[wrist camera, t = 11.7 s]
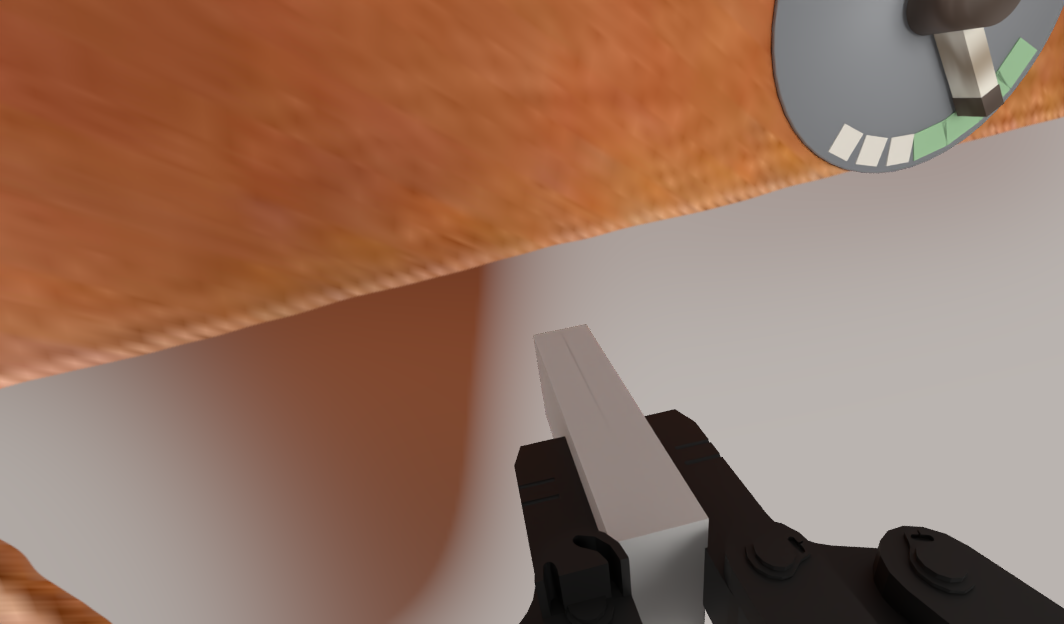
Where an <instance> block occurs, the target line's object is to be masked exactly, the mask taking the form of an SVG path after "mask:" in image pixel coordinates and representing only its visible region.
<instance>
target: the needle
mask: <svg viewBox="0 0 1064 624" xmlns="http://www.w3.org/2000/svg"><path fill="white" fill-rule="evenodd" d="M1020 1H1021V0H908V3H907V10H906V17H907V22H908V25H909V27H910V29H911V30H912V31H913V32H914V33H916V34H918V35H923V36H925V35H933V34H934V38H935V41H936V44H937V47H938V51H939V54H940V57H941V60H942V64H943V67H944V70H945V73H946V77H947V80H948V83H949V87H950V90H951V93H952V96H953V98H952V100H953V103H954V107H955V110H956V113H957V116H969V117H987V116H989V115H990V114H991V113H992V112H994V111H995V110H996V109H997V108H999V107H1000V106H1001V105H1003V104H1004V101H1003V97H1002V93H1001V89H1000V85H999V84H998V82H997V78H996V74H995V70H994V66H993V62H992V58H991V55H990V51H989V47H988V43H987V39H986V35H985V31H984V27H990V26H993V25H996V24H998V23H1000V22H1001V21H1003V20H1004V19H1005V18H1007V17H1008V16H1009V15H1010V14H1011V13H1012V12H1013V11H1014V9H1015V8H1016V7H1017V5H1018V4H1019V2H1020Z"/></svg>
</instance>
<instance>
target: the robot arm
mask: <svg viewBox="0 0 1064 624" xmlns="http://www.w3.org/2000/svg"><path fill="white" fill-rule="evenodd" d="M533 337H534V343H535V349H536V356H537V362H538V369H539V375H540V381H541V387H542V393H543V399H544V406H545V412H546V416H547V420H548V422H549V426H550V429H551V432H552V435H553V438H554V439H551V440H547V441H542V442H538V443H533V444H529V445H525V446H521V447H520V450H519V453H518V456H517V460H516V462H515V472H516V477H517V482H518V487H519V493H520V498H521V503H522V509H523V514H524V520H525V524H526V530H527V535H528V541H529V546H530V551H531V557H532V562H533V567H534V573H535V592H534V598H533V601H532V603H531V605H530V608H529V610H528V612H527V614H526V615H525V617H524V618H523V619H522V621H521V622H520V623H519V624H704V622H705V621H704V620H705V610H706V612H707V614H708V616H709V617H710V619H711V621H712V623H713V624H1064V608H1062V607H1061V606H1059V605H1058V604H1056V603H1055V602H1053V601H1052V600H1050V599H1049V598H1047V597H1046V596H1044V595H1043V594H1041V593H1039V592H1038V591H1036V590H1035V589H1033V588H1032V587H1030V586H1029V585H1027V584H1026V583H1024V582H1023V581H1021V580H1020V579H1018V578H1016V577H1015V576H1013V575H1012V574H1010V573H1009V572H1007V571H1006V570H1004V569H1003V568H1001V567H999V566H998V565H997V564H995V563H994V562H992V561H991V560H989V559H988V558H986V557H984V556H983V555H981V554H980V553H978V552H977V551H975V550H974V549H972V548H971V547H969V546H967V545H965V544H964V543H962V542H960V541H958V540H956V539H954V538H952V537H950V536H948V535H947V534H944V533H941V532H938V531H934V530H931V529H927V528H924V527H913V526H901V527H898V528H895V529H892V530H889V531H887V533H886V534H885V535H884V536H883V538H882V539H881V540H880V543H879V546H878V548H864V547H847V546H831V545H824V544H818V543H814V542H811V541H808V540H807V539H806V538H805V537H803V536H802V535H801V534H800V533H799V532H797V531H795V530H793V529H791V528H789V527H787V526H786V525H784V524H782V523H778V522H774V521H773V520H772V519H771V518H770V517H769V516H768V515H767V514H766V512H765V511H764V510H763V509H762V507H761V506H760V505H759V504H758V502H757V501H756V500H755V499H754V497H753V496H752V495H751V493H750V492H749V491H748V490H747V488H746V487H745V486H744V484H743V483H742V482H741V480H740V479H739V478H738V477H737V475H736V474H735V473H734V471H733V470H732V469H731V468H730V466H729V465H728V464H727V462H726V461H725V460H724V459H723V457H720V454H719V452H718V451H717V450H716V448H715V447H714V446H713V444H712V443H711V442H710V443H709V441H708V438H707V437H706V436H705V434H704V433H703V432H702V430H701V429H700V428H699V426H698V425H697V424H696V423H695V422H694V421H693V420H691V419H690V418H688V417H686V416H685V415H683V414H681V413H680V412H678V411H677V410H675V409H674V410H670V411H666V412H661V413H657V414H652V415H648V416H644V415H643V414H642V412H641V411H640V409H639V407H638V406H637V404H636V402H635V401H634V399H633V398H632V396H631V395H630V393H629V391H628V390H627V388H626V387H625V385H624V383H623V382H622V380H621V379H620V377H619V376H618V374H617V372H616V371H615V369H614V368H613V366H612V365H611V363H610V361H609V360H608V358H607V357H606V355H605V353H604V352H603V350H602V349H601V347H600V346H599V344H598V342H597V341H596V339H595V338H594V336H593V334H592V333H591V331H590V330H589V328H588V326H587V325H586V324H585V325H580V326H575V327H570V328H565V329H560V330H556V331H551V332H546V333H541V334H536V335H533Z"/></svg>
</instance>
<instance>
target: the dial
mask: <svg viewBox="0 0 1064 624" xmlns="http://www.w3.org/2000/svg"><path fill="white" fill-rule="evenodd" d="M907 3H908V0H775V7H774V15H773V23H772V63H773V74H774V79H775V84H776V88H777V93H778V97H779V100H780V102H781V105H782V108H783V111H784V114H785V116H786V117H787V119H788V121H789V123H790V125H791V127H792V129H793V130H794V132H795V133H796V134H797V136H798V137H799V138H800V140H801V141H802V142H803V144H804V145H806V146H807V147H808V148H809V149H810V150H811V151H812V152H813V153H814V154H815V155H817V156H818V157H820V158H821V159H823V160H825V161H826V162H828V163H830V164H832V165H835V166H837V167H840V168H842V169H846V170H851V171H856V172H861V173H885V172H894V171H898V170H902V169H906V168H910V167H913V166H916V165H918V164H921V163H923V162H926V161H928V160H930V159H932V158H934V157H936V156H938V155H940V154H942V153H944V152H945V151H947V150H949V149H950V148H952V147H953V146H955V145H956V144H958V143H959V142H961V141H962V140H964V139H965V138H966V137H967V136H969V135H970V134H971V133H972V132H974V131H975V130H976V129H977V128H979V127H980V126H981V125H982V124H983V123H984V122H985V121H986V120H987V119H988V118H989V117H990V116H991V115H992V114H993V113H994V112H996V111H997V109H998V108H997V109H996V110H995V111H994V112H992V113H991V114H990V115H989V116H987V117H969V116H957V113H956V110H955V107H954V103H953V100H952V98H953V96H952V93H951V90H950V87H949V83H948V80H947V77H946V73H945V70H944V67H943V64H942V60H941V57H940V54H939V51H938V47H937V44H936V41H935V38H934V34H933V35H925V36H923V35H918V34H916V33H914V32H913V31H912V30H911V29H910V27H909V25H908V22H907V17H906V10H907ZM1063 6H1064V0H1021V1H1020V2H1019V4H1018V5H1017V7H1016V8H1015V9H1014V11H1013V12H1012V13H1011V14H1010V15H1009V16H1008V17H1007V18H1005V19H1004V20H1003V21H1001V22H1000V23H998V24H996V25H993V26H990V27H984V31H985V35H986V39H987V43H988V47H989V51H990V55H991V58H992V62H993V66H994V70H995V74H996V78H997V82H998V84H999V85H1000V89H1001V93H1002V97H1003V101H1004V102H1005V100H1006V99H1007V98H1008V97H1009V96H1010V95H1011V94H1012V92H1013V91H1014V90H1015V89H1016V87H1017V86H1018V85H1019V83H1020V82H1021V81H1022V79H1023V78H1024V77H1025V75H1026V74H1027V73H1028V71H1029V69H1030V68H1031V66H1032V65H1033V63H1034V62H1035V60H1036V59H1037V57H1038V55H1039V54H1040V52H1041V51H1042V49H1043V47H1044V45H1045V43H1046V41H1047V39H1048V38H1049V36H1050V34H1051V32H1052V30H1053V28H1054V26H1055V24H1056V22H1057V19H1058V17H1059V15H1060V13H1061V10H1062V8H1063Z"/></svg>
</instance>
